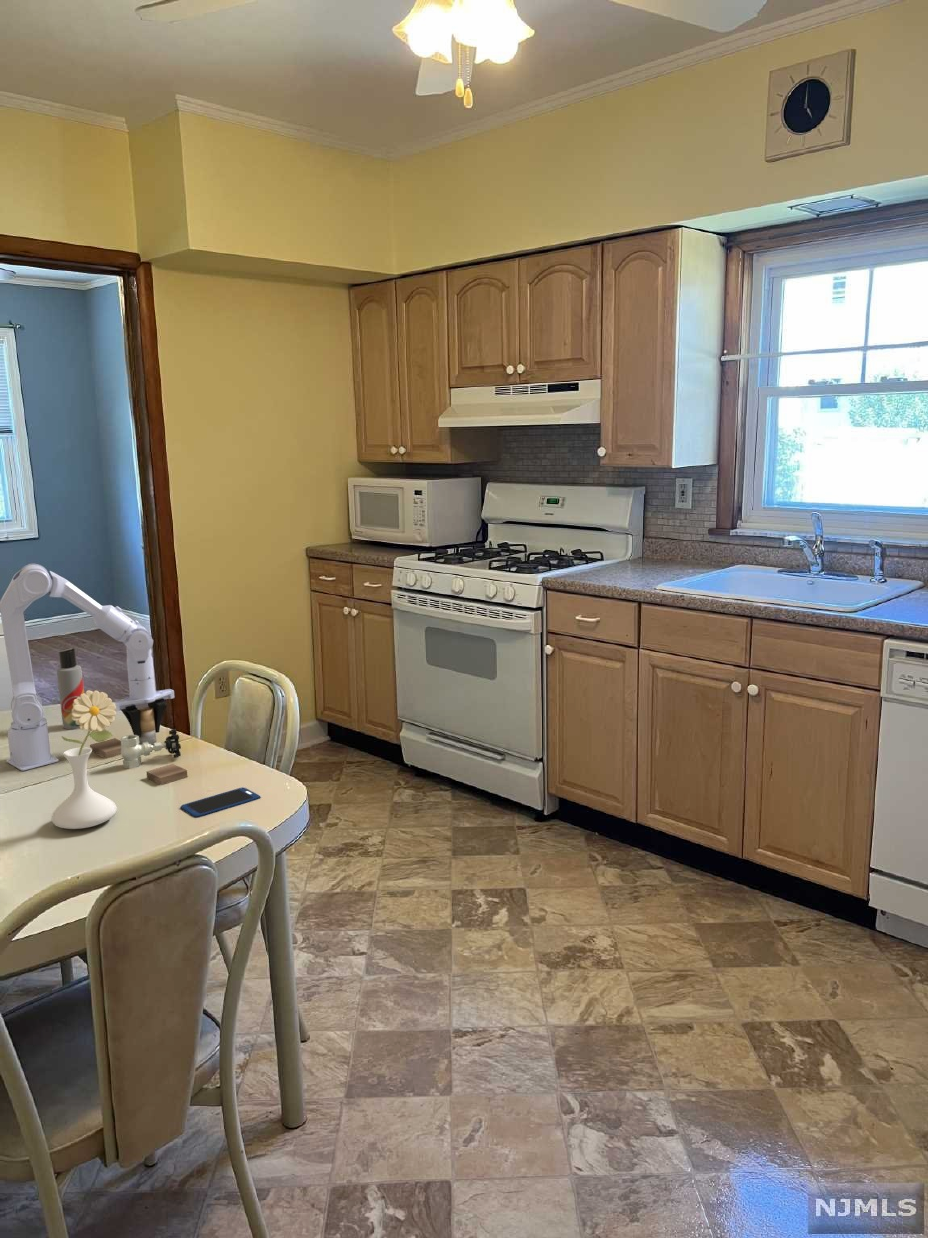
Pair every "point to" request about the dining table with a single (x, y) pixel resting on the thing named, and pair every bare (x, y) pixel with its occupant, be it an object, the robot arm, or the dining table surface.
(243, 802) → the cell phone
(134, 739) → the valve
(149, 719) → the marker peg
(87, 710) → the flower in vase
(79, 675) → the lotion bottle
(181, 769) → the blocks
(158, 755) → the dining table surface
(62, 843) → the dining table surface
